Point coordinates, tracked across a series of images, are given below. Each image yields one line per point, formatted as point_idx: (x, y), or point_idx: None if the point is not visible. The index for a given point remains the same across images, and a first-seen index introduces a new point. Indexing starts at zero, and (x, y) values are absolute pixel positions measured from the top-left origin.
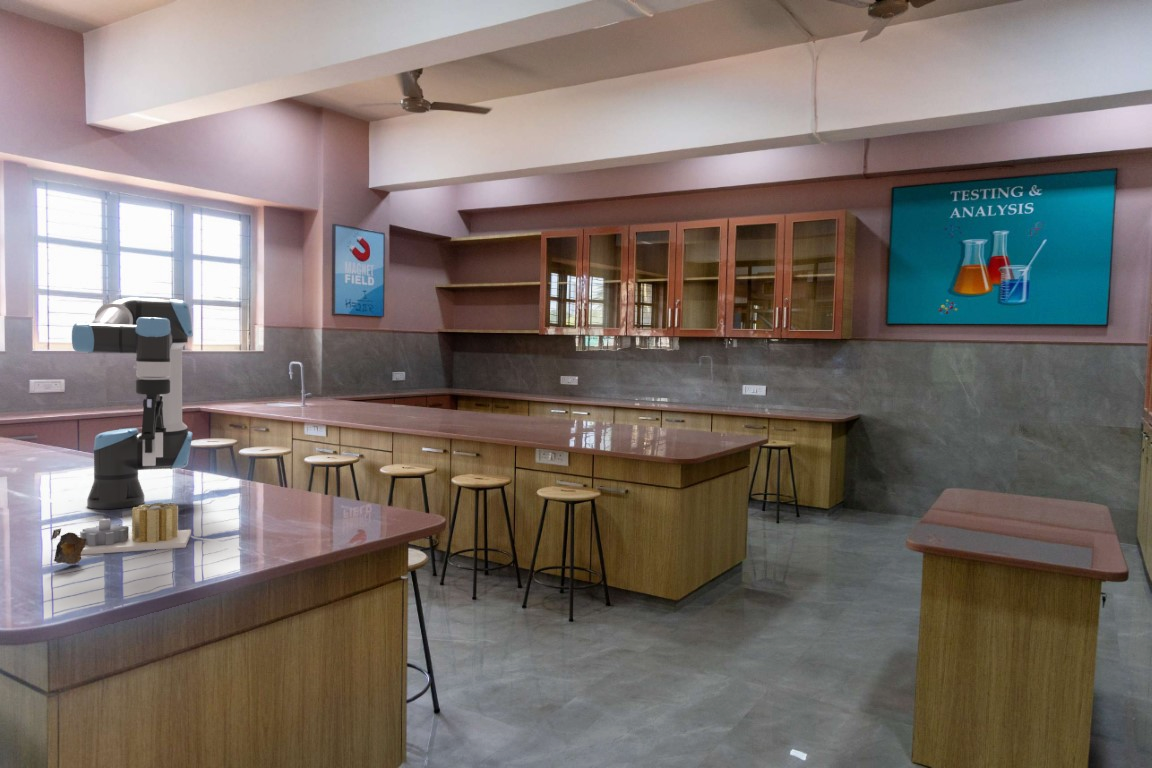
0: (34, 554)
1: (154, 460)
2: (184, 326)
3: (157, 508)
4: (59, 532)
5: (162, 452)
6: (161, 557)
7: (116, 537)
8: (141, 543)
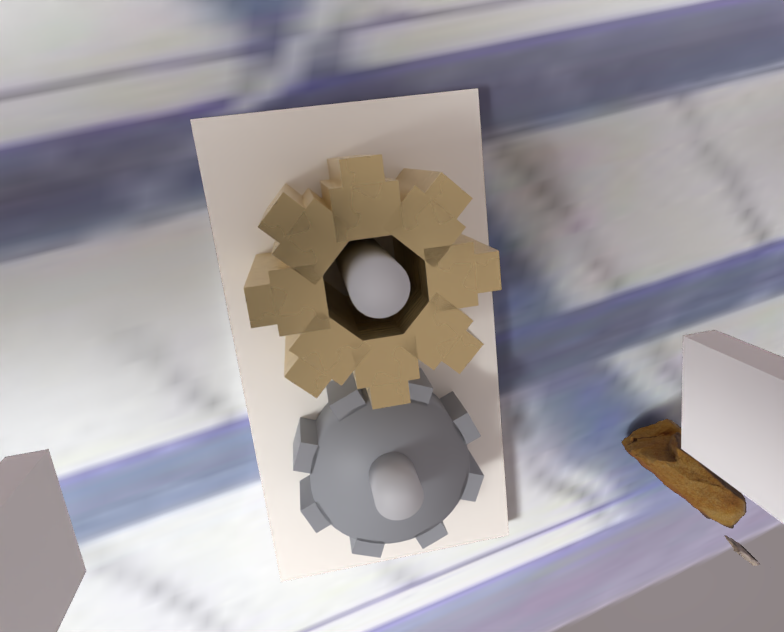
0: (459, 613)
1: (760, 355)
2: None
3: (429, 262)
4: (735, 543)
5: (17, 485)
6: (611, 157)
7: (434, 398)
8: None
